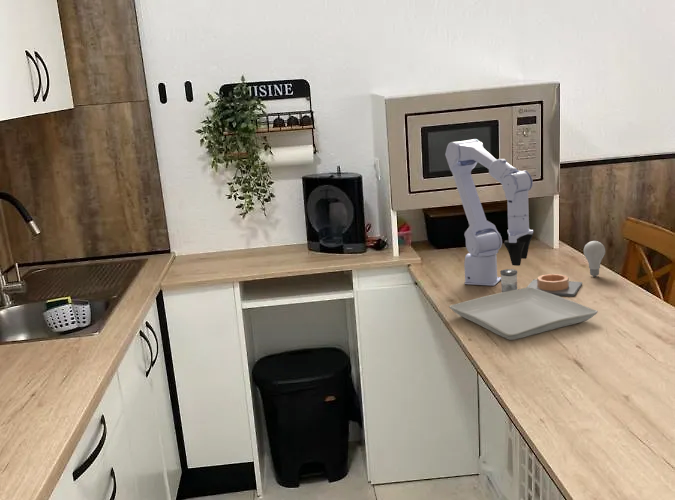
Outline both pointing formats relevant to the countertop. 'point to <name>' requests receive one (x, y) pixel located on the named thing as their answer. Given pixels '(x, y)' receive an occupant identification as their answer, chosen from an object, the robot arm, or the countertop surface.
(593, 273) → the lightbulb
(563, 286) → the duct flange
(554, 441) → the countertop surface
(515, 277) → the silver metal cylinder
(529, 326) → the square plate
